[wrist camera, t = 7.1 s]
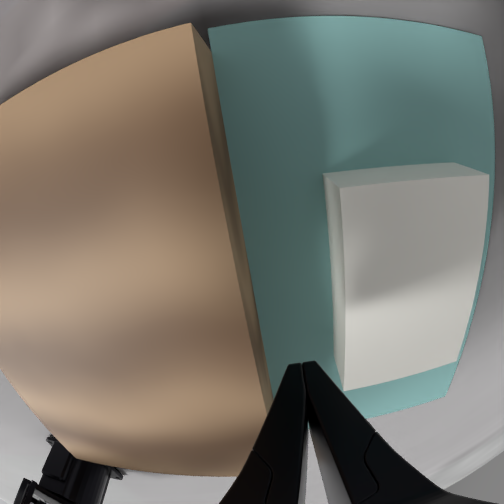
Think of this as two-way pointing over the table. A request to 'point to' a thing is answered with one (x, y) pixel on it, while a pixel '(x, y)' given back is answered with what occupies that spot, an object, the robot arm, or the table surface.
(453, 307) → the white rectangular block
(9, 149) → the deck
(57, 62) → the table surface
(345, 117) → the mat
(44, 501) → the ink cartridge box
